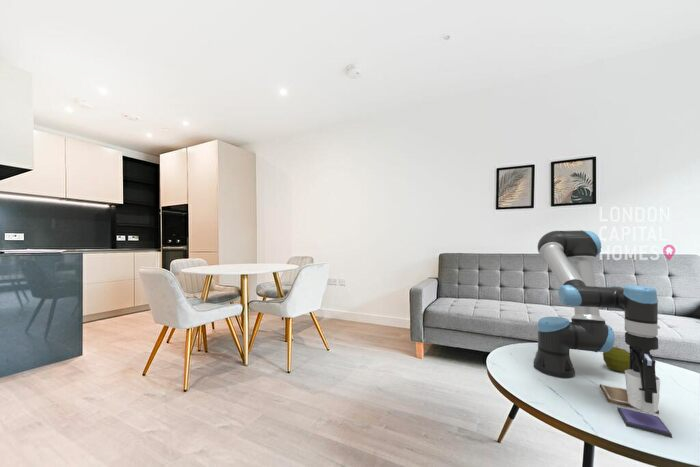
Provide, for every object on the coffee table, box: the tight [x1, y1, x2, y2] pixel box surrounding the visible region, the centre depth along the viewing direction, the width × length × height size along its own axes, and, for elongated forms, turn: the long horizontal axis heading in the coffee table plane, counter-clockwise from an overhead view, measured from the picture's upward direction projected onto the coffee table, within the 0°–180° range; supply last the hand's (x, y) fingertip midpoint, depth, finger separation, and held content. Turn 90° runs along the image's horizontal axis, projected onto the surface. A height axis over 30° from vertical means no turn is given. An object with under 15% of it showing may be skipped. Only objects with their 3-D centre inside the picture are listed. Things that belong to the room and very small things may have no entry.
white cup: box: [624, 370, 661, 412], centre depth 91 cm, size 8×8×10 cm
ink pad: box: [616, 406, 673, 438], centre depth 91 cm, size 10×10×1 cm
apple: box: [602, 346, 630, 373], centre depth 128 cm, size 10×10×11 cm
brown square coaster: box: [599, 383, 660, 415], centre depth 104 cm, size 13×13×1 cm
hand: (642, 405), depth 91 cm, fingers closed on white cup, 8 cm apart
